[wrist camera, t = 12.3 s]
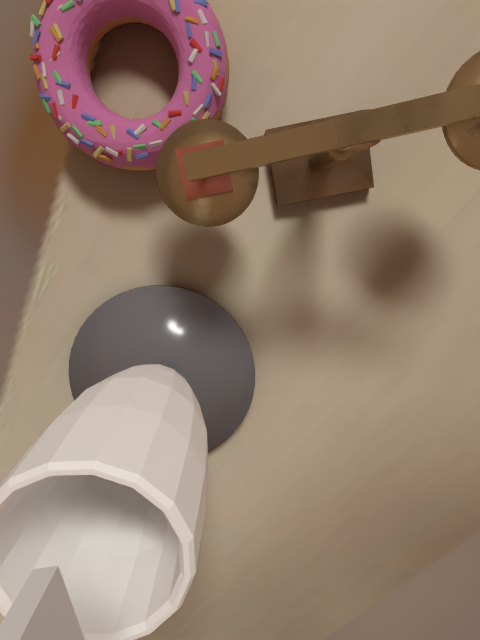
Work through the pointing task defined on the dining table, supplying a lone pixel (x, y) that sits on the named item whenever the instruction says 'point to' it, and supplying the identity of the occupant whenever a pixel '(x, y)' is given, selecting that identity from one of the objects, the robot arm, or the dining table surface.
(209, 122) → the balance
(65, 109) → the donut
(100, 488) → the cup
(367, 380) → the dining table surface
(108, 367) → the grey flat disc
